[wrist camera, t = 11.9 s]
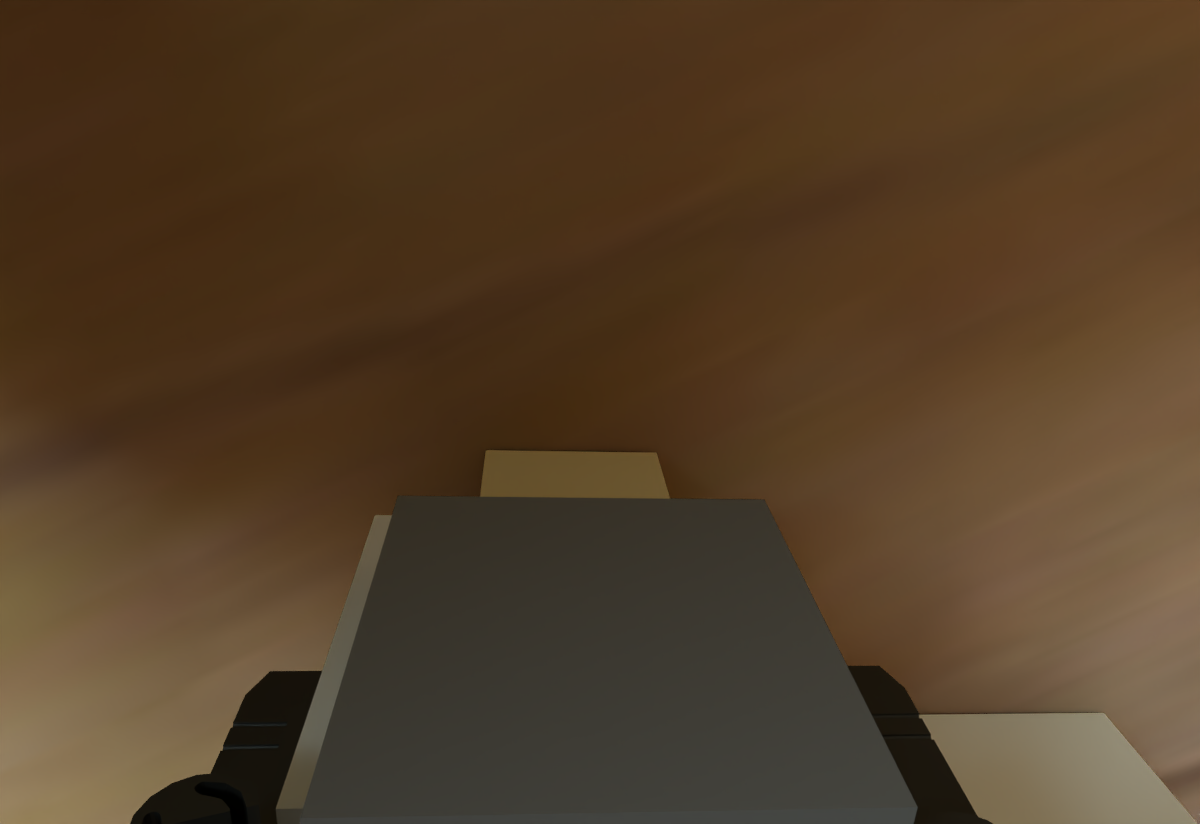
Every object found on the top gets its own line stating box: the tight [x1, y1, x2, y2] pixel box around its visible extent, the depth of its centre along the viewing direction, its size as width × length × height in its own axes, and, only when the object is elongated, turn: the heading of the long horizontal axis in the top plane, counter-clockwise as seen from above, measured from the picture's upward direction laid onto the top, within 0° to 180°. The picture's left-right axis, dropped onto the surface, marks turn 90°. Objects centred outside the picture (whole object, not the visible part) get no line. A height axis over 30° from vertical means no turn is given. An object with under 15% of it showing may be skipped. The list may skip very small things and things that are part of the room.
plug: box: [300, 450, 918, 824], centre depth 14 cm, size 6×6×10 cm
